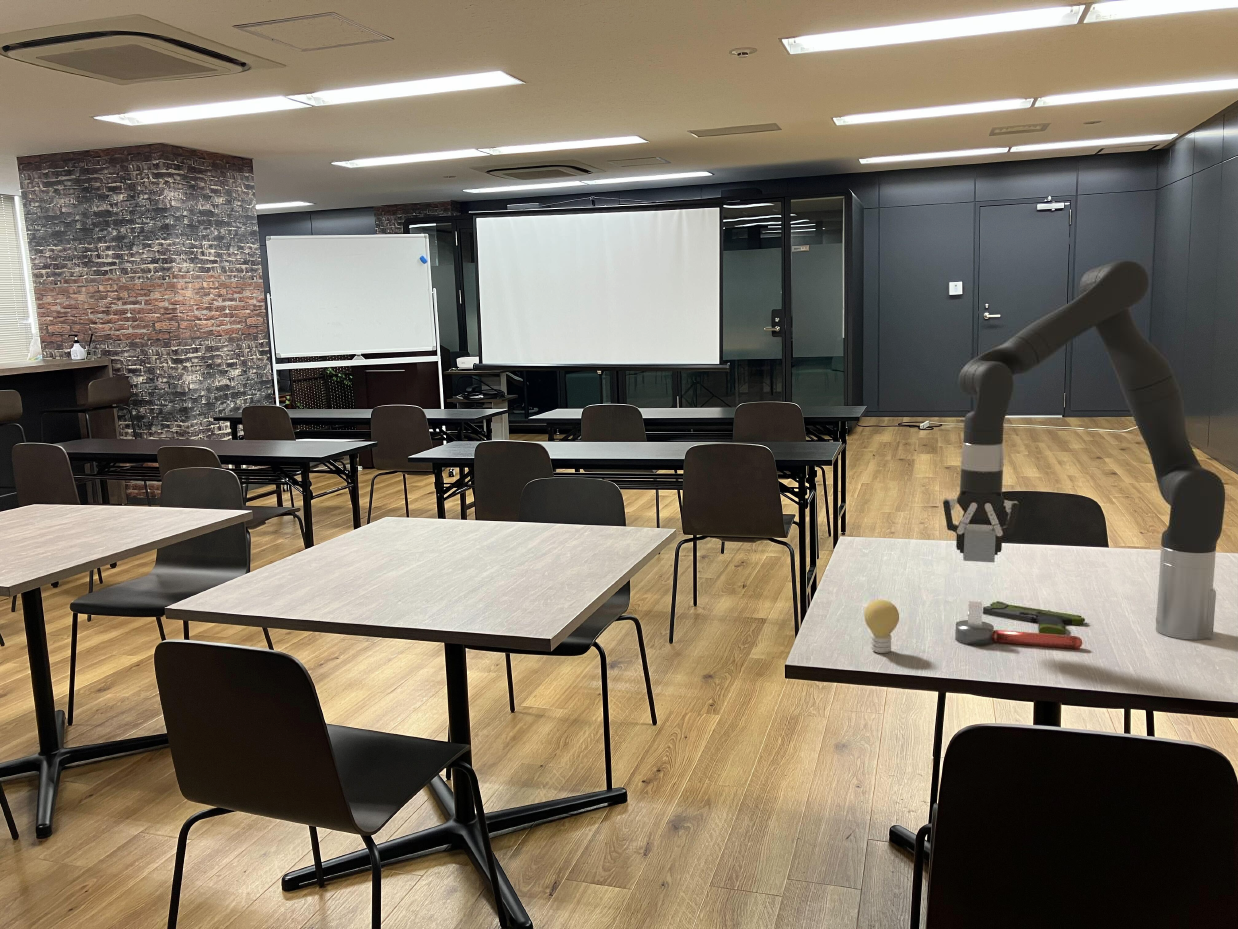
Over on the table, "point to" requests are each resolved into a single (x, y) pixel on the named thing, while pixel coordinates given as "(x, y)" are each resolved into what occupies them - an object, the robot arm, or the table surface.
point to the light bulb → (881, 624)
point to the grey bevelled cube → (979, 543)
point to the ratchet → (1005, 633)
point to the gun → (1035, 617)
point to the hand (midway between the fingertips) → (978, 552)
